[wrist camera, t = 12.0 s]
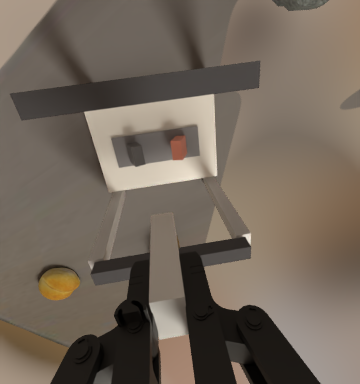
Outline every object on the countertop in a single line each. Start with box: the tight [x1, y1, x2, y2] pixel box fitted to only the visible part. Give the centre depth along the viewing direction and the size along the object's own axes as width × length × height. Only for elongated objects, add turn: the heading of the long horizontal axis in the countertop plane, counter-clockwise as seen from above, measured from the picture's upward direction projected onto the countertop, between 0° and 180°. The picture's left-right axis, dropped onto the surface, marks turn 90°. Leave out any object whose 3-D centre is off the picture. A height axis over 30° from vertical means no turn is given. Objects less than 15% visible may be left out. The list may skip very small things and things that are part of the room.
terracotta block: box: [170, 135, 187, 160], centre depth 34 cm, size 2×3×3 cm, turn 7°
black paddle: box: [126, 142, 146, 167], centre depth 33 cm, size 2×3×3 cm, turn 6°
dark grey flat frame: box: [10, 61, 260, 286], centre depth 21 cm, size 18×20×2 cm
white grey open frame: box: [84, 94, 251, 269], centre depth 30 cm, size 20×20×20 cm
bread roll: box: [39, 268, 80, 300], centre depth 50 cm, size 8×9×4 cm
